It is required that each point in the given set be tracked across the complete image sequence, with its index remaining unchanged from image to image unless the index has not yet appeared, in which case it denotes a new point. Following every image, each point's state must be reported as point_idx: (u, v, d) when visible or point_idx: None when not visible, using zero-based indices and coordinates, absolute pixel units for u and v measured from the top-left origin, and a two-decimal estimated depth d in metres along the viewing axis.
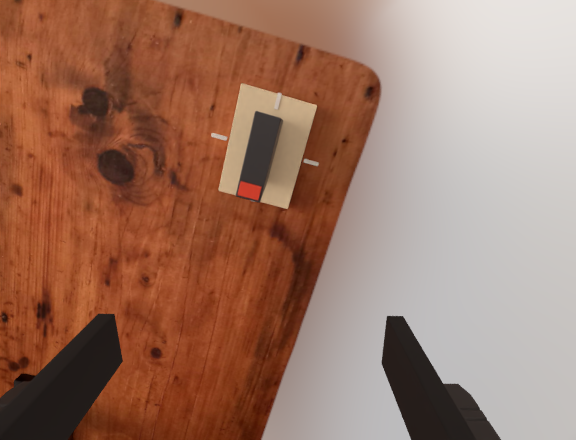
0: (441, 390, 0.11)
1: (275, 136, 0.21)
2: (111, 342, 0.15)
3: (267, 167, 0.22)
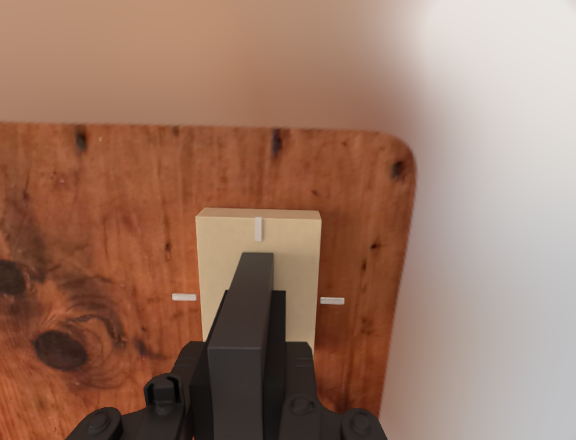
0: (280, 343, 0.13)
1: (259, 379, 0.11)
2: None
3: (260, 427, 0.11)
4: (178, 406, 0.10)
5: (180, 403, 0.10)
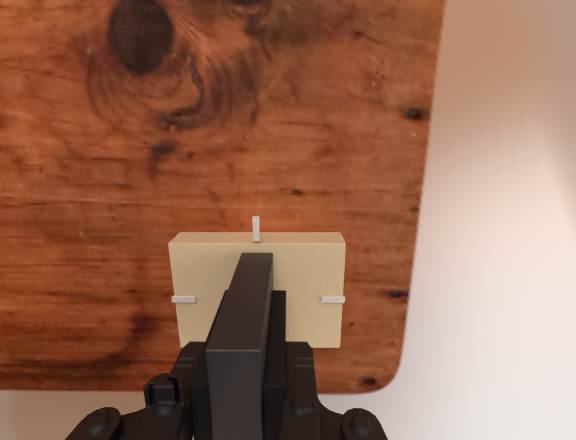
0: (280, 343, 0.13)
1: (258, 381, 0.10)
2: None
3: (260, 430, 0.11)
4: (178, 406, 0.10)
5: (180, 403, 0.10)
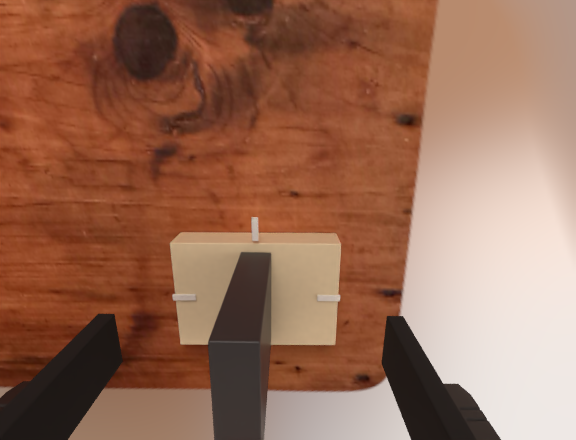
0: (441, 390, 0.11)
1: (258, 372, 0.11)
2: (111, 342, 0.15)
3: (258, 419, 0.12)
4: None
5: None
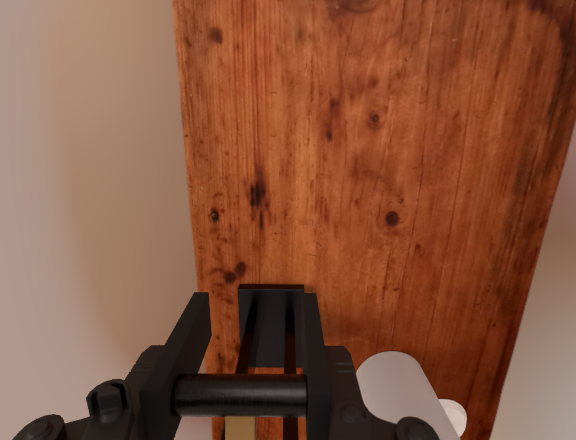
0: (320, 348, 0.13)
1: None
2: (207, 317, 0.16)
3: None
4: (125, 411, 0.10)
5: (127, 408, 0.10)
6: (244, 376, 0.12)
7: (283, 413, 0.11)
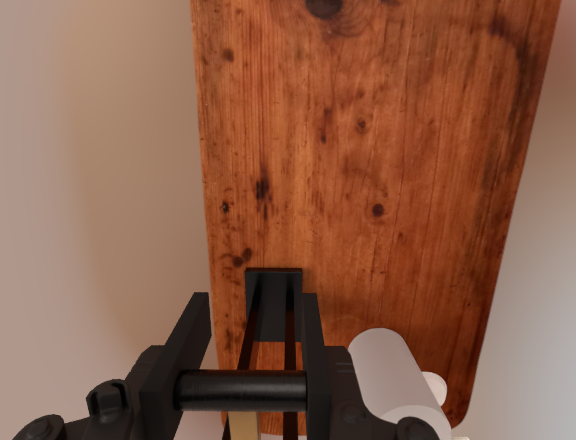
0: (320, 348, 0.13)
1: None
2: (207, 317, 0.16)
3: None
4: (125, 411, 0.10)
5: (127, 408, 0.10)
6: (244, 378, 0.12)
7: (283, 411, 0.12)
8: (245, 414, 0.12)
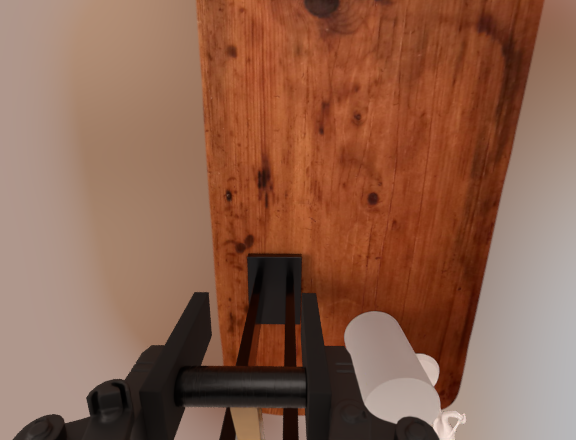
0: (320, 348, 0.13)
1: None
2: (207, 317, 0.16)
3: None
4: (126, 411, 0.10)
5: (128, 408, 0.10)
6: (243, 378, 0.12)
7: None
8: (246, 408, 0.12)
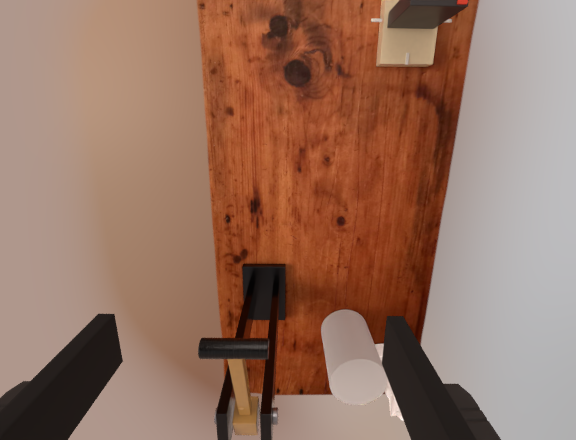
0: (441, 390, 0.11)
1: None
2: (111, 342, 0.15)
3: None
4: None
5: None
6: (235, 343, 0.23)
7: None
8: (236, 360, 0.23)
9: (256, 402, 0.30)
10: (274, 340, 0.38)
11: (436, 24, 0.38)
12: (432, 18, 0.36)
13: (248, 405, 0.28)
